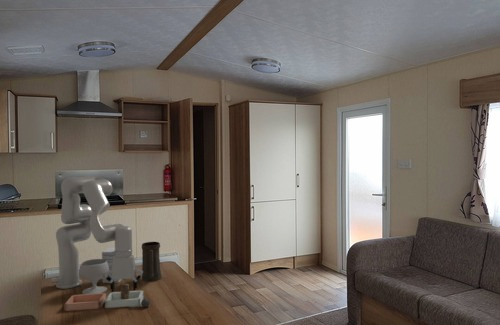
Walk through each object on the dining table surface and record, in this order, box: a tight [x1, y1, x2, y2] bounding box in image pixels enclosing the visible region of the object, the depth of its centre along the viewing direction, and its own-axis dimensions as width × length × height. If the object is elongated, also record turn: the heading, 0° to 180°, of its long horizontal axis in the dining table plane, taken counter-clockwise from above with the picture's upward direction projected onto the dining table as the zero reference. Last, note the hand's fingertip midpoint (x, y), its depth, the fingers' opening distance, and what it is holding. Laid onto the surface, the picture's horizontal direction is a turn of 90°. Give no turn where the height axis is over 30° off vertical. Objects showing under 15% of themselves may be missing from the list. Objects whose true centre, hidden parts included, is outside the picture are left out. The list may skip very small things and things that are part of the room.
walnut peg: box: [120, 283, 130, 300], centre depth 178 cm, size 4×4×8 cm
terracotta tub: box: [64, 292, 107, 312], centre depth 176 cm, size 15×11×4 cm
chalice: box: [79, 258, 109, 294], centre depth 194 cm, size 14×14×15 cm
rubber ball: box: [141, 298, 151, 308], centre depth 174 cm, size 4×4×4 cm
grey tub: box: [104, 290, 145, 309], centre depth 178 cm, size 15×11×4 cm
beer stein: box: [141, 241, 162, 283], centre depth 211 cm, size 15×11×20 cm
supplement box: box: [101, 247, 123, 284], centre depth 212 cm, size 10×9×17 cm
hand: (124, 290), depth 178 cm, fingers open, 9 cm apart
